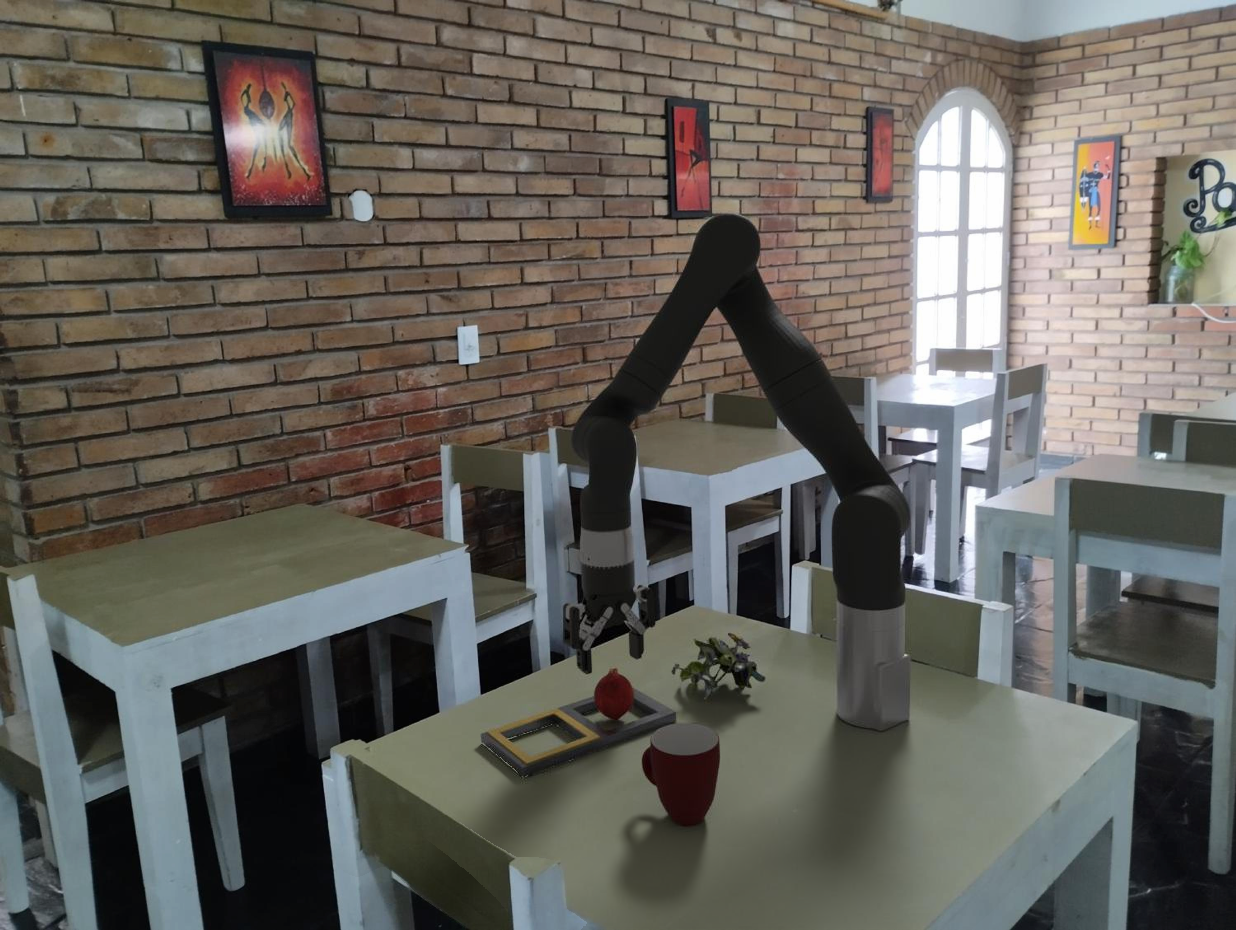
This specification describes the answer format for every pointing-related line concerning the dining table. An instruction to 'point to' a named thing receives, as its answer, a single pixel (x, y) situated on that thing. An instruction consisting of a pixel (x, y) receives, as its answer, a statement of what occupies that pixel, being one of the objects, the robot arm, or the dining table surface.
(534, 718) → the grey yellow flat frame
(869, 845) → the dining table surface
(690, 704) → the dining table surface
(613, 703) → the onion
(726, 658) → the passion flower
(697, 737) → the mug
